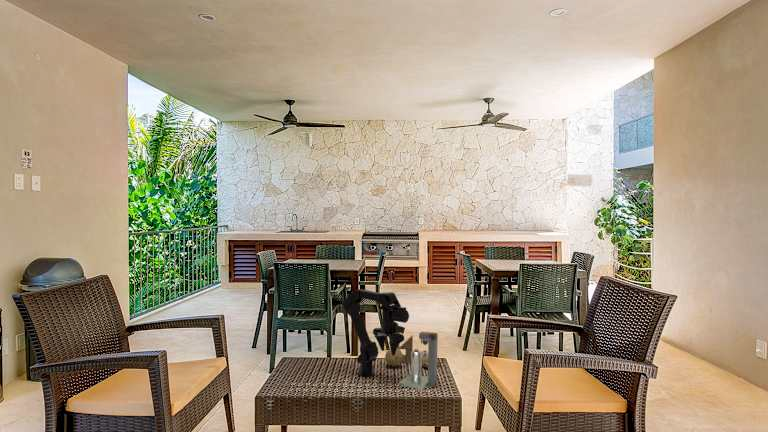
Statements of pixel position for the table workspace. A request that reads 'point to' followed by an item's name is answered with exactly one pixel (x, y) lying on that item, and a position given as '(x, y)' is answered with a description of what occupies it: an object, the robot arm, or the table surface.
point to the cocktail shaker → (416, 365)
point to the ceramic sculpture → (426, 359)
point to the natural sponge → (393, 357)
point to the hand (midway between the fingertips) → (388, 352)
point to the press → (432, 364)
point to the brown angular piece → (407, 349)
